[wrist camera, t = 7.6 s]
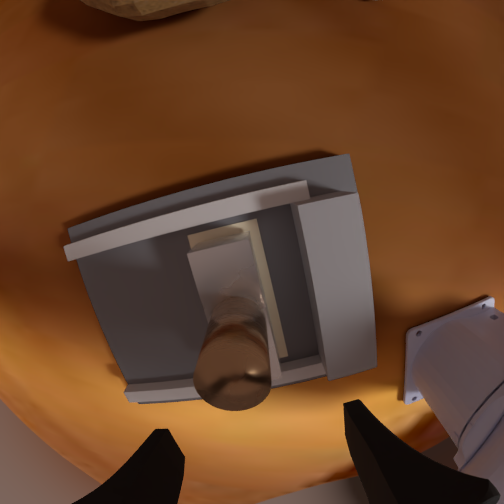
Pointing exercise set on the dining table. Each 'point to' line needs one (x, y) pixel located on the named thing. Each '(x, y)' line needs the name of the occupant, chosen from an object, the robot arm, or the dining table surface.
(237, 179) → the base
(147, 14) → the potato
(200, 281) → the press handle
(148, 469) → the robot arm
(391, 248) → the dining table surface
